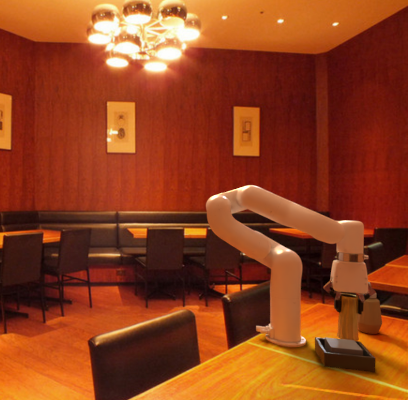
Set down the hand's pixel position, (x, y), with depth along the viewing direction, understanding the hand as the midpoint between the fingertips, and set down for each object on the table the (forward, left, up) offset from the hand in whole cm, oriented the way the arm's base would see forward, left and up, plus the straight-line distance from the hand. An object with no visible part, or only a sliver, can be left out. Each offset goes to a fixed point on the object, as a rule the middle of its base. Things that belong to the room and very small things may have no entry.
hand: (348, 311), depth 125 cm
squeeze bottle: (+11, +16, -11) cm, 22 cm away
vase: (0, 0, -9) cm, 9 cm away
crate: (-5, -15, -11) cm, 19 cm away
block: (-5, -15, -11) cm, 19 cm away
